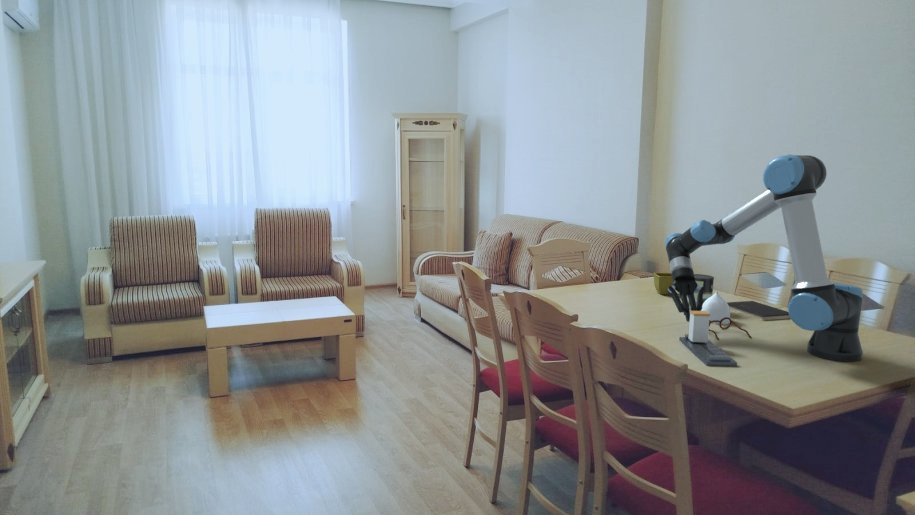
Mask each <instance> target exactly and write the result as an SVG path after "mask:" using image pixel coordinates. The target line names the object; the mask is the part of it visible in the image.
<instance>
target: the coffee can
mask: <svg viewBox="0 0 915 515" xmlns="http://www.w3.org/2000/svg"><path fill="white" fill-rule="evenodd" d="M694 276H695V281H696V283H697V284H698V286H700V287H705V290H704V291H703V302H702V305H703V303H704V302H705V301H706V300H707V299H708V298H709V297H711V296H713V295H714V294H713V290H714V282H715V281H714V279H715V277H714V276H712V275H710V274H708V275H707V274H701V273H696V274H695V273H694ZM697 296H698V293H697V289H696V290H695V291H694V297H695V302H696V306H697ZM687 299H688V304H689V309H690V310H689V311H691V307H690V303H689V298H688V296H687Z"/></svg>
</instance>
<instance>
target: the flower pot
mask: <svg viewBox="0 0 915 515" xmlns="http://www.w3.org/2000/svg"><path fill="white" fill-rule="evenodd" d="M653 284H654V287H655V290H656V292H657V293H659V295H670V294H669V293H668V292H667V290H668V288H669V286H673V279H672V273H671V272H653ZM670 296H671V295H670Z"/></svg>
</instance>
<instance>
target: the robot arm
mask: <svg viewBox="0 0 915 515" xmlns="http://www.w3.org/2000/svg"><path fill="white" fill-rule="evenodd" d="M827 175H828V174H827V167H826V165H825V163H824V162H823V161H822V160H821V159H820V158H818V157H816V156H813V155H798V154H797V155H796V154H786V155H781V156H777V157H775V158H773V159H772V160H771V161H769V163H768V164H767V166H765V168H764V171H763V174H762V176H763V177H762V182H763V185H764V187H765V188H766V190H764V191H762V192H761V193H759V194H758V195H755V197H752V199H751V200H749V201H748V202H745V203H744V204H743V205H741V206H739V207H738V208H736V209H735V210H733V211H732V212H731V213H729V214H727V215H726V216H723V218H722V219H720V220H718V221H717V222H716V223H711V221H707V220H705V219H701V220H698V221H697V222H695V223H693V225H692V226H690V227H689V228H688V229H687V230H685V231H684V232H683V233H679V232H677V233H676V232H675V233H672V234H670V235H668V236H667V237H666V238H665V240H664V242H665V250H666V254H667V258H668V263H669V268H670V273H672V279H673V286H669V288H668V290H667V292H668V293H669V294H670V296H671V299H672V300H673V302H674V305H675V307H676V309H677V311H678V313H679V314H680V313H681V314H682V313H683V316H685V321H686V322H688V323H690V311H689V310H690V309H689V304H688V299H687V296H688V298H689V303H690V307H691V311H701V310H702V302H703V291H704V290H705V287H700V286H698V284H697V283H696V281H695V276H694V274H695V273H694V267H693V264H692V260H691V254H692V253H694V252H695V251H696V250H698V249H699V248H701V247H703V246H713V245H724V244H727V243H728V244H729V243H731V242H732V241H733V240H734V239H735V237H736V236H737V235H738V234H740V233H742V232H743V231H745V230H746V229H748V228H749V227H751V226H753V225H754V224H756V223H758V222H759V221H761V220H762V219H764V218H766V217H767V216H769V215H771V214H772V213H774V212H775V211H777V210H778V209H780V210H781V212H782V213H781V214H782V217H783V218H782V219H783V222H784V223H783V224H784V228H785V229H784V230H785V234H786V239H787V244H788V249H789V254H790V259H791V265H792V270H793V276H794V282H795V283H793V285H792V286H791V294H792V298H790V301H789V302H788V305H787V310H788V311H787V312H788V313H789V316H790V318H789V319H790V320H792V322H793V324H795V325H796V326H798V327H799V328H801V329H802V330H806V331H811V332H812V334H811V337H810V339H809V340H808V343H807V347H806V352H808V354H810V355H813V356H815V357H818V358H821V359H826V360H831V361H839V362H858V361H861V360H862V358H863V353H864V352H863V348H862V345H861V341H860V337H859V329H860V320H861V314H862V312H861V311H862V304H863V300H864V297H863V289H862V288H861V287H859V286H858V285H857V286H856V285H851V284H845V283H838V282H834V281H832V280H831V279H830V278H828V275H827V270H826V265H825V259H824V254H823V249H822V244H821V238H820V234H819V233H820V232H819V230H818V224H817V218H816V213H815V208H814V204H813V200H814V199H815V197H817V194H818V193H817V190H819V188H821V187H822V186H823V184H824V183H825V180H827ZM696 289H697V293H698V296H697V306H696V302H695V297H694V291H695V290H696Z"/></svg>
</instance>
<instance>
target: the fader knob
mask: <svg viewBox="0 0 915 515" xmlns="http://www.w3.org/2000/svg"><path fill="white" fill-rule="evenodd" d="M709 318H710V314H709V313H708V312H706V311H690V323H689V322H688V323H689V325H688V334H689V337H688V339H689V340H691V341H692V342H708V340H709V332H710V331H709V329H710V327H709Z"/></svg>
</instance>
